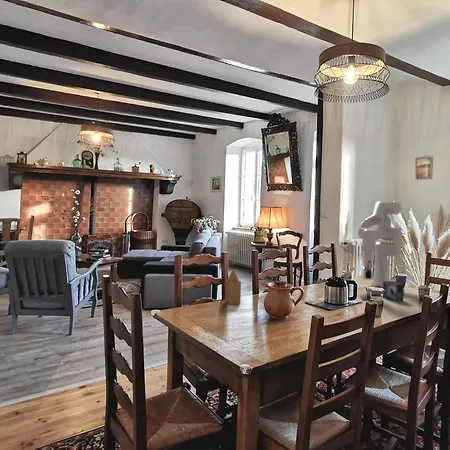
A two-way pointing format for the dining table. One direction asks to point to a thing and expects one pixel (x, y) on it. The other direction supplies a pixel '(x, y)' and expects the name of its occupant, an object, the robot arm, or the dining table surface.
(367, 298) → the keeper
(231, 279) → the decorative item
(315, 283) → the dining table surface
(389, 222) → the robot arm
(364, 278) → the link
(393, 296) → the small box
